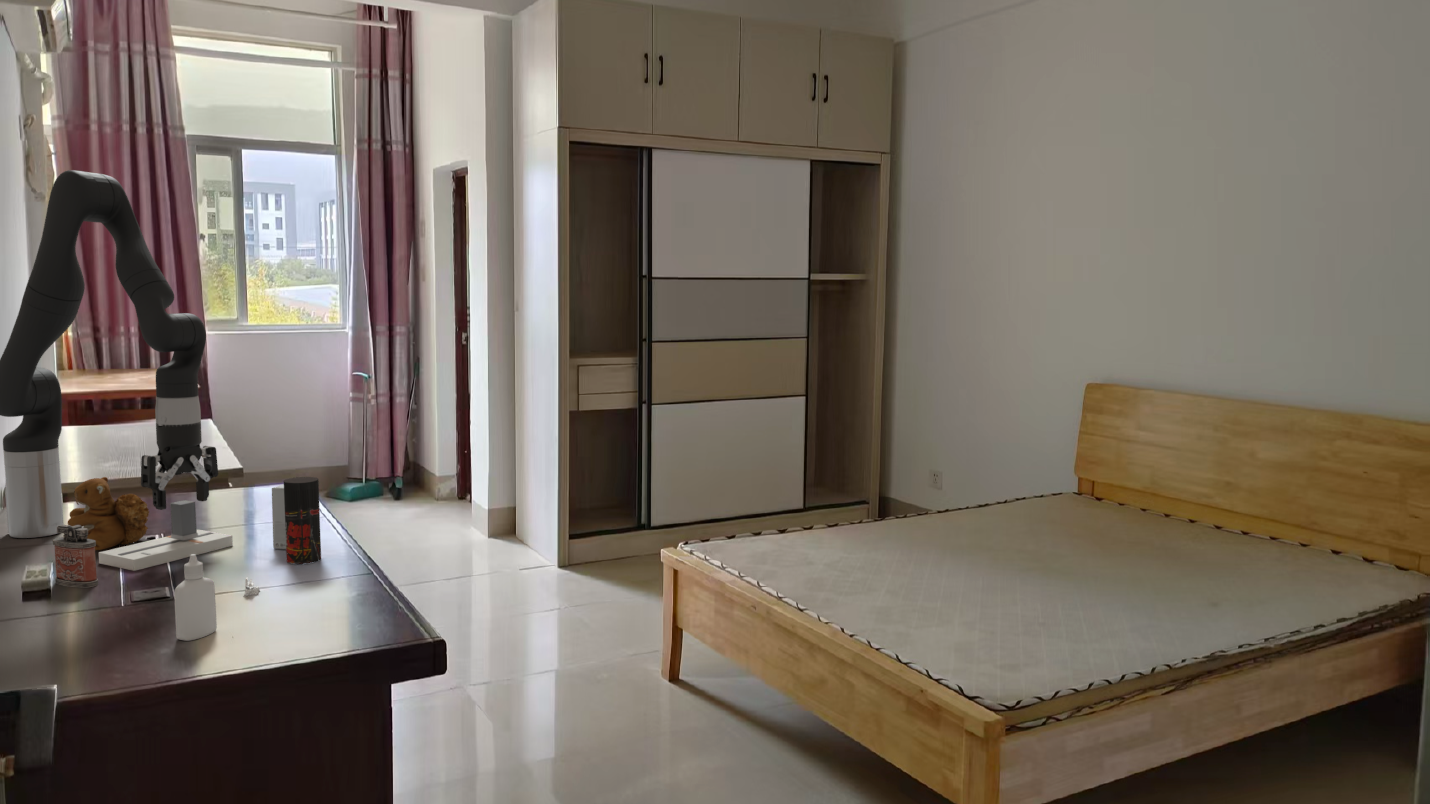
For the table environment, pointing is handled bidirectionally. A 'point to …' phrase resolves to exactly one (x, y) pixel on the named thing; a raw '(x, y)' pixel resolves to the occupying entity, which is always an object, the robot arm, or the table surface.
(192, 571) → the eye dropper bottle
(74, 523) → the stuffed squirrel
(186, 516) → the fader
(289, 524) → the deodorant
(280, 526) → the skincare box
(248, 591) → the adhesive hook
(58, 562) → the lighter
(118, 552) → the panel
